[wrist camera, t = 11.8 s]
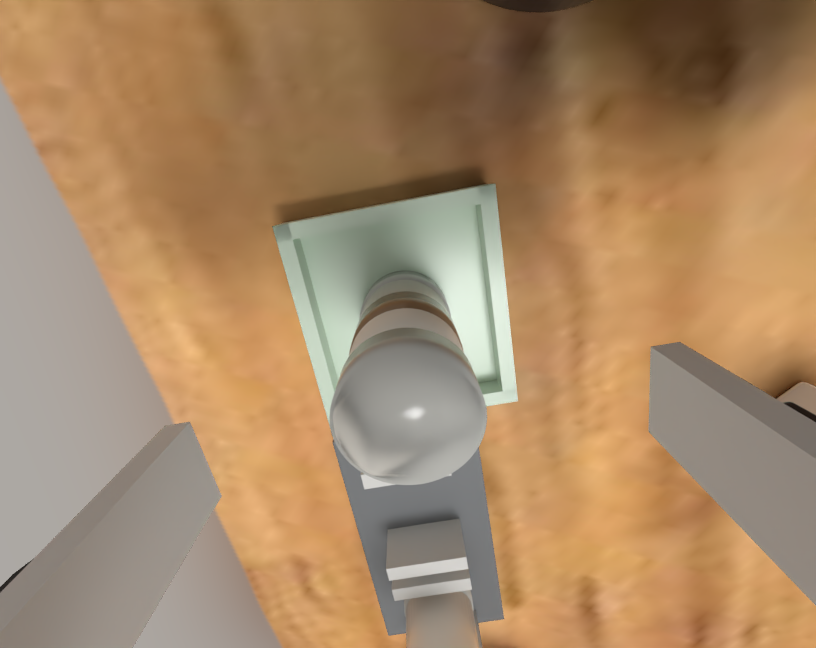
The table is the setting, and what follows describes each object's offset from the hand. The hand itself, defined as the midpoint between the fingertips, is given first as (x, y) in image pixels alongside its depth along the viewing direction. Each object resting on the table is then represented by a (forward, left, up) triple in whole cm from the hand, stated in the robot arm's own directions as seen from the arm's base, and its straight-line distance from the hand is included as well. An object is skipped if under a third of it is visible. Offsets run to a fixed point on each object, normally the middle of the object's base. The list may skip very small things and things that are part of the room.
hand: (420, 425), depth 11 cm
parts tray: (0, 0, -13) cm, 13 cm away
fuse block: (+17, -2, -13) cm, 21 cm away
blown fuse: (0, 0, -12) cm, 12 cm away
